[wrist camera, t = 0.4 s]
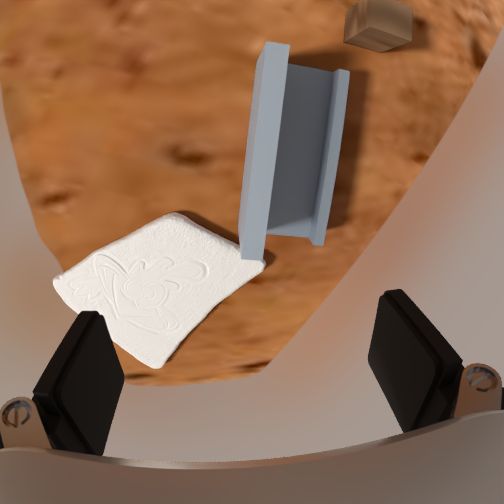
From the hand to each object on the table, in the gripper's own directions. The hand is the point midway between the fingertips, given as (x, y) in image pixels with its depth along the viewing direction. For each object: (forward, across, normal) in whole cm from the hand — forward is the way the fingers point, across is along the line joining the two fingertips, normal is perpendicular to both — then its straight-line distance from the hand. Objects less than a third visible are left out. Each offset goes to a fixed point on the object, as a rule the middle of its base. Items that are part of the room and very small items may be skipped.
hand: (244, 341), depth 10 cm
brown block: (+30, -17, -19) cm, 39 cm away
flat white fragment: (+30, +12, +12) cm, 35 cm away
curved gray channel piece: (+29, -7, -3) cm, 30 cm away
